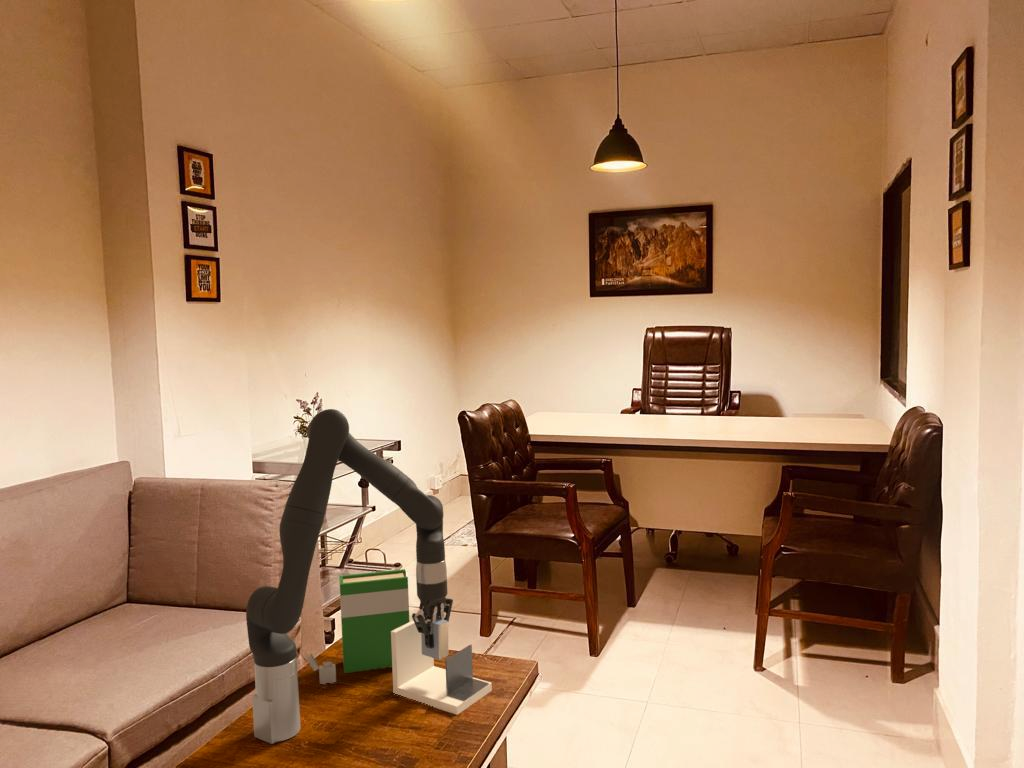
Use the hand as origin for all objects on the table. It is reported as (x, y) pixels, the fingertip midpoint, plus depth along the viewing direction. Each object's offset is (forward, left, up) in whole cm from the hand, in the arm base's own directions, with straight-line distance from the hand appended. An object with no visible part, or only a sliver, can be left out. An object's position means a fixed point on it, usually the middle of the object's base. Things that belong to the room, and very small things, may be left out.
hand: (434, 644), depth 197 cm
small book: (0, 0, -3) cm, 3 cm away
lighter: (-12, +28, -12) cm, 32 cm away
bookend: (+1, -10, -10) cm, 14 cm away
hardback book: (+4, +24, -12) cm, 27 cm away
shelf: (0, -2, -12) cm, 12 cm away
